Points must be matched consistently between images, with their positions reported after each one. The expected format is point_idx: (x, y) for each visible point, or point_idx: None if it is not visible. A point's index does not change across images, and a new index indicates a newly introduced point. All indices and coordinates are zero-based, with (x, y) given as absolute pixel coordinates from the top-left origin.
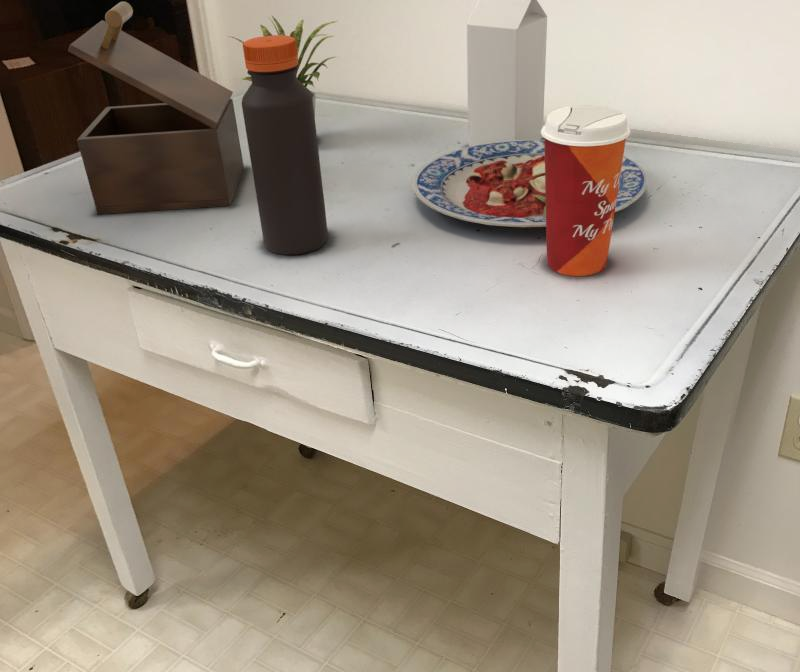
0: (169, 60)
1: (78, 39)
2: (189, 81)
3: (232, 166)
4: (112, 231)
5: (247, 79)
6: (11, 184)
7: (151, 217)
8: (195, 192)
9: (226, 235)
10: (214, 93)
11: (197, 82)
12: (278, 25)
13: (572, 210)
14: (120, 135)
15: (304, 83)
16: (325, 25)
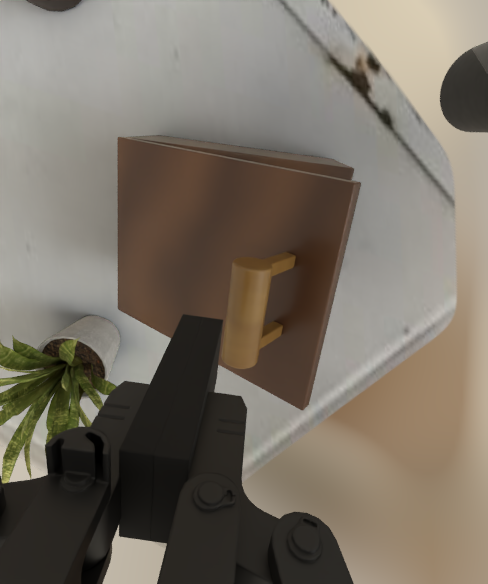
0: None
1: (339, 238)
2: (162, 273)
3: None
4: (310, 88)
5: (113, 388)
6: (450, 307)
7: (260, 125)
8: (196, 141)
9: (152, 21)
10: (132, 267)
11: (153, 284)
12: (28, 458)
13: None
14: (282, 165)
15: (25, 346)
16: None
